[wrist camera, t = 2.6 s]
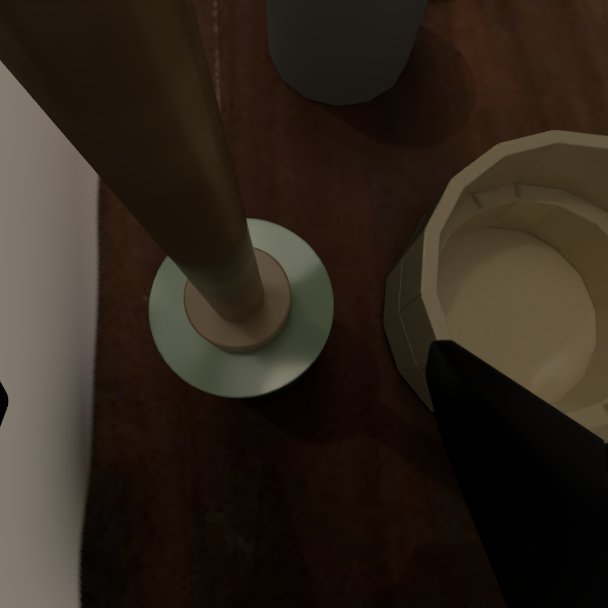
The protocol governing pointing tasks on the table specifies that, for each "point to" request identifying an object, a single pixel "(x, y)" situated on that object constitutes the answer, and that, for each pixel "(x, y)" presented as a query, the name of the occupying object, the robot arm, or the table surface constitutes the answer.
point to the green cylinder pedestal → (260, 363)
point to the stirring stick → (153, 145)
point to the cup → (342, 45)
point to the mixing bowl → (515, 273)
